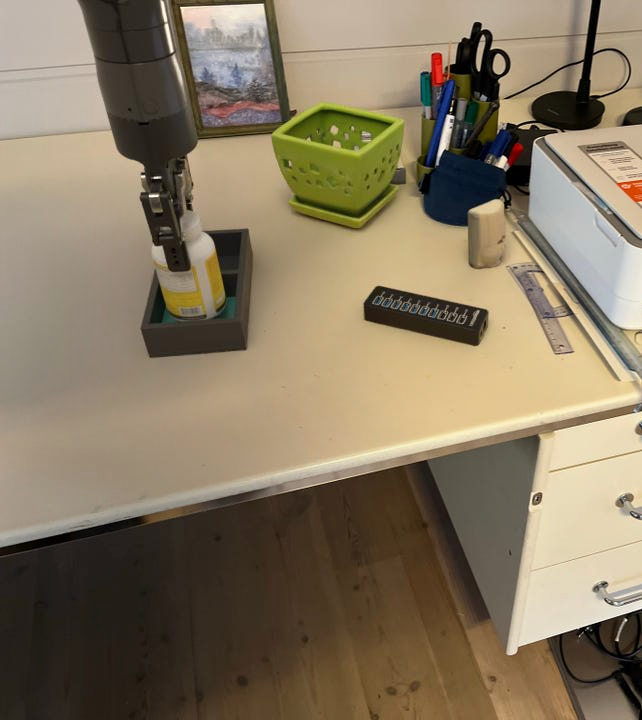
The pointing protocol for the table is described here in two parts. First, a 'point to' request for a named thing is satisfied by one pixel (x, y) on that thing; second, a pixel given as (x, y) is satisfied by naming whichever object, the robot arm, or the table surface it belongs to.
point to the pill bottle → (192, 276)
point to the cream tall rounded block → (486, 234)
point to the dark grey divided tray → (214, 333)
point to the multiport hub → (426, 315)
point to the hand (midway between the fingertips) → (184, 251)
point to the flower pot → (339, 162)
